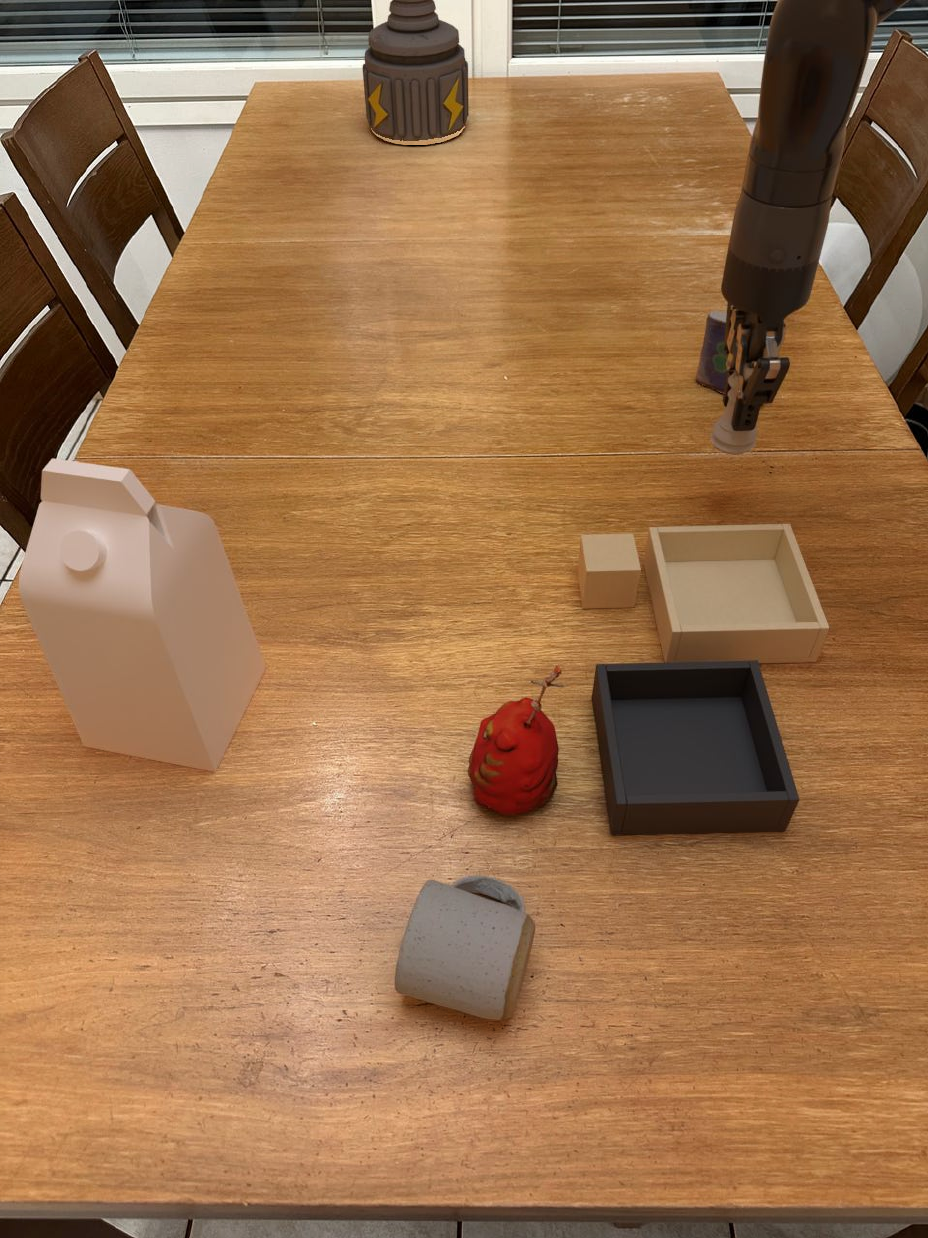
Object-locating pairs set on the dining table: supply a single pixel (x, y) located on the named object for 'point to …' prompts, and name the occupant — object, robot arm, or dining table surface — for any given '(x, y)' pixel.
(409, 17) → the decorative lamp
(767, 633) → the ivory bin
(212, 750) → the milk
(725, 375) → the flask
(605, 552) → the cream block
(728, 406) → the rook chess piece
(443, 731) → the dining table surface
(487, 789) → the red clay folk toy
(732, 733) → the charcoal bin
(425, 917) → the ceramic mug
